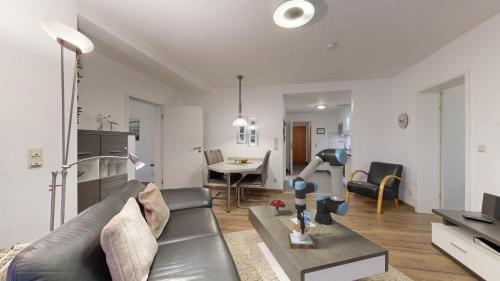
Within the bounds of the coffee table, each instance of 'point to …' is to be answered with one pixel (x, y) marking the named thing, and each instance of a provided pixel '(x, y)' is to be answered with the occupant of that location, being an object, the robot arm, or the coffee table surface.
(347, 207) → the robot arm
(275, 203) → the decorative mushroom
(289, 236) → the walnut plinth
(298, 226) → the lidded jar
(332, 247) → the coffee table surface
